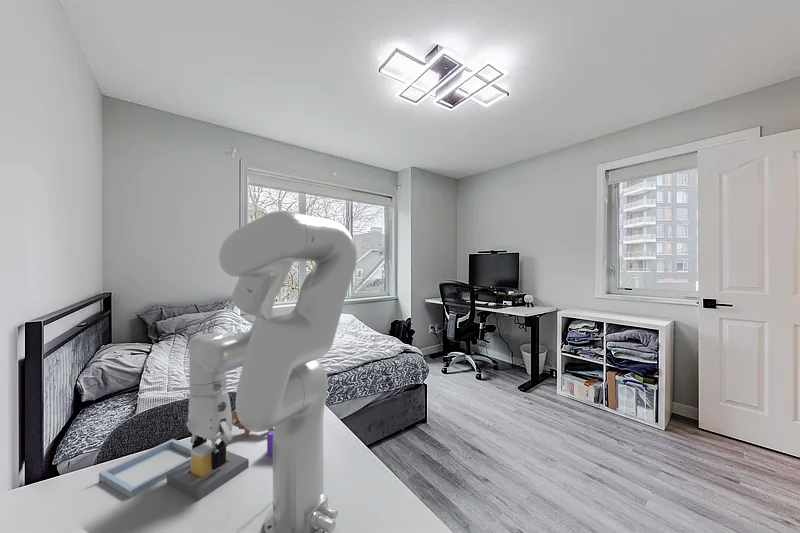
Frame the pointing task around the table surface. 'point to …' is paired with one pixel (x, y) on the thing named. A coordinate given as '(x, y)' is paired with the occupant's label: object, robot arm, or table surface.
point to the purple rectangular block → (270, 443)
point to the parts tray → (126, 488)
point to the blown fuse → (202, 459)
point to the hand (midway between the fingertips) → (209, 461)
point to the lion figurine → (237, 423)
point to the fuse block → (207, 476)
